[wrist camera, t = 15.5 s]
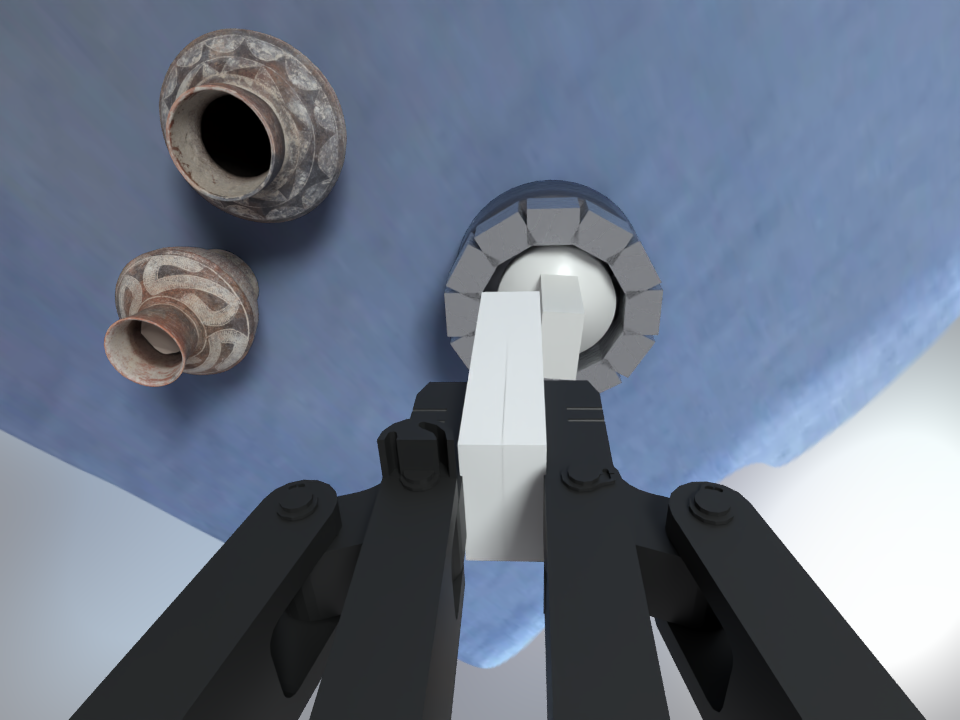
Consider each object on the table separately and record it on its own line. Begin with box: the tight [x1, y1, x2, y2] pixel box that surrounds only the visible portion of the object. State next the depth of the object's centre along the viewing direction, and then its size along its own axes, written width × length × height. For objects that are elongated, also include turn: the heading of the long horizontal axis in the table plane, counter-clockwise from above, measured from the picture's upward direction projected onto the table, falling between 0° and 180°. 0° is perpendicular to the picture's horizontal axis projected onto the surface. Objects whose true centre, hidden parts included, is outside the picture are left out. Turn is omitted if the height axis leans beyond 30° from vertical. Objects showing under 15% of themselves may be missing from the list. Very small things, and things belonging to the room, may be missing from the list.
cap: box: [498, 245, 616, 380], centre depth 40 cm, size 8×8×8 cm
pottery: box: [104, 29, 347, 387], centre depth 42 cm, size 11×25×12 cm, turn 151°
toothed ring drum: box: [444, 180, 663, 393], centre depth 45 cm, size 14×14×8 cm
